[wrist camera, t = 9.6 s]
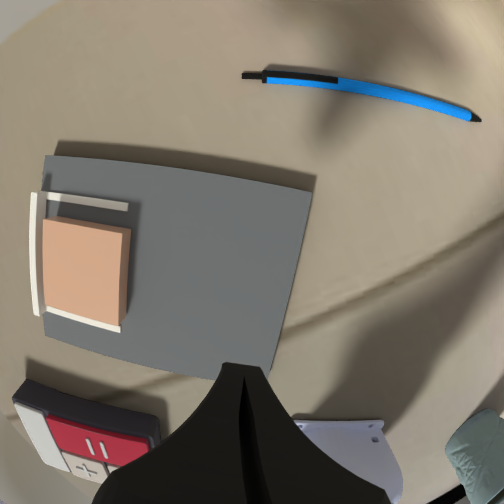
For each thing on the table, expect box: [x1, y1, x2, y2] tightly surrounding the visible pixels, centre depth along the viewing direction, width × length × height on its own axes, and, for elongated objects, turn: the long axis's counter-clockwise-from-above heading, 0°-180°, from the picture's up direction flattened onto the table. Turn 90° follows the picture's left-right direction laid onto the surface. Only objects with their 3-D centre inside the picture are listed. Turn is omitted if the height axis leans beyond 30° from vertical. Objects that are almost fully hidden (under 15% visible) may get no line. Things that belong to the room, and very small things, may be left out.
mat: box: [29, 155, 312, 380], centre depth 18 cm, size 18×14×2 cm
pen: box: [242, 70, 482, 122], centre depth 17 cm, size 1×19×1 cm, turn 89°
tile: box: [42, 216, 131, 326], centre depth 17 cm, size 2×6×6 cm
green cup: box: [445, 409, 504, 504], centre depth 20 cm, size 10×10×12 cm
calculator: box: [12, 379, 161, 484], centre depth 22 cm, size 11×4×15 cm
